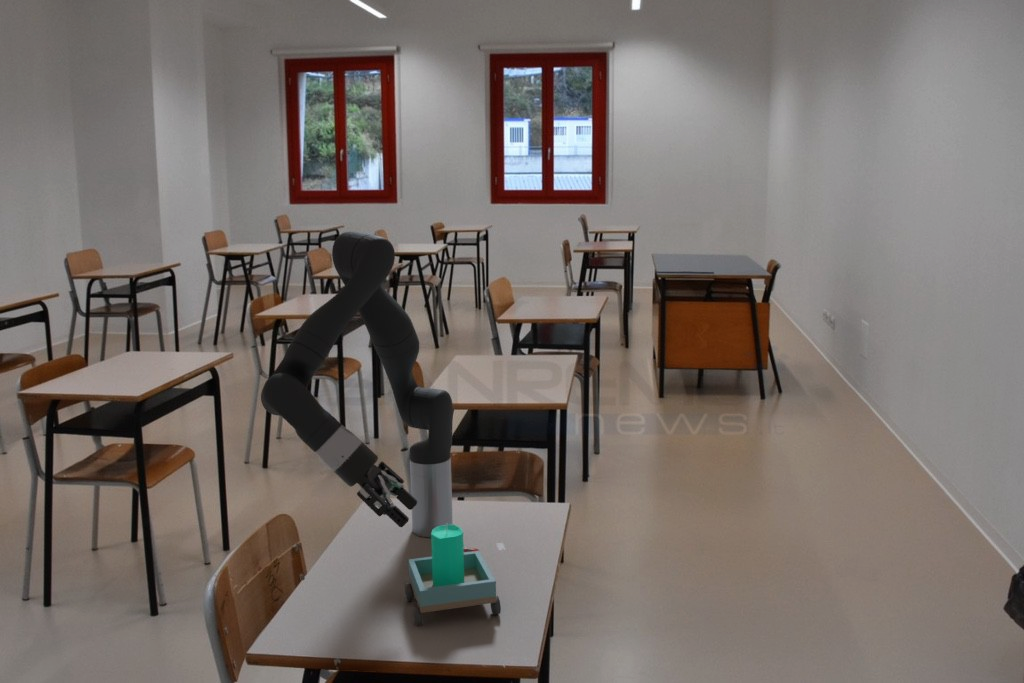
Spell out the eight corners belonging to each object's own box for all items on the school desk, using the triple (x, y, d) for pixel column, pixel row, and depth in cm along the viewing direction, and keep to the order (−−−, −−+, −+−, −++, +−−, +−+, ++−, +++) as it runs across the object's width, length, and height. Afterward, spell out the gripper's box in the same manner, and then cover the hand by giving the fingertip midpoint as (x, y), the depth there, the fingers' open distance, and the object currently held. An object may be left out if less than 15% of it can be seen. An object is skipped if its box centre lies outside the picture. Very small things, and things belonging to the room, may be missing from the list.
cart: (405, 595, 184) (403, 560, 182) (484, 584, 188) (483, 550, 186) (416, 629, 171) (415, 591, 169) (501, 617, 174) (500, 580, 173)
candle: (441, 574, 183) (439, 515, 180) (469, 578, 181) (468, 519, 178) (427, 587, 177) (425, 527, 175) (456, 592, 175) (454, 531, 173)
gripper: (350, 454, 167) (416, 516, 168) (369, 430, 181) (430, 488, 182) (322, 482, 169) (388, 543, 170) (343, 456, 182) (404, 513, 184)
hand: (410, 514), depth 176 cm, fingers open, 8 cm apart
